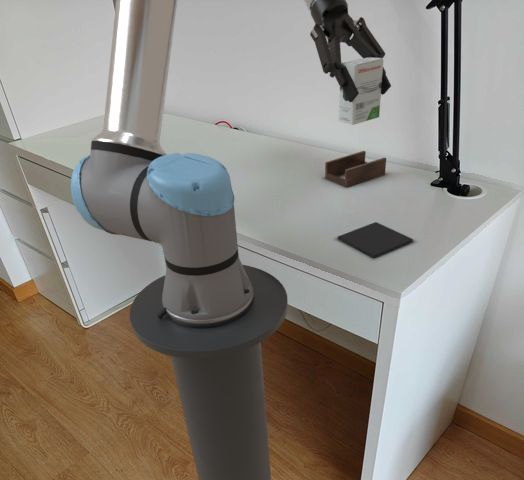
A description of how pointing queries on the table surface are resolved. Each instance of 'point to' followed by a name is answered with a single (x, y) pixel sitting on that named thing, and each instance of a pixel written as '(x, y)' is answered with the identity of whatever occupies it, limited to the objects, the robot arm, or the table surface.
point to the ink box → (362, 91)
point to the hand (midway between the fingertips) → (370, 94)
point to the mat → (375, 239)
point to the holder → (354, 169)
